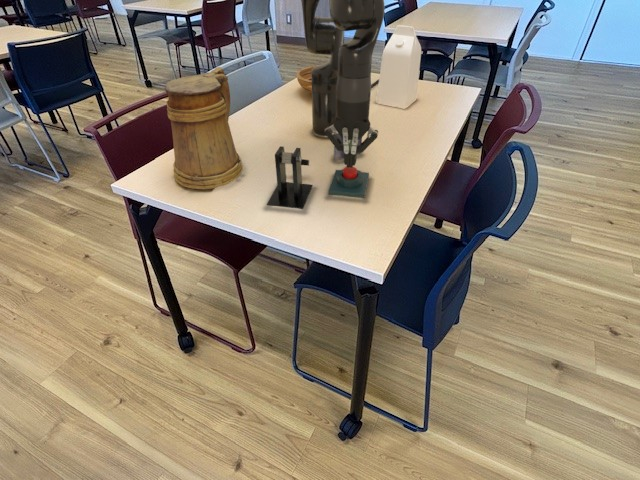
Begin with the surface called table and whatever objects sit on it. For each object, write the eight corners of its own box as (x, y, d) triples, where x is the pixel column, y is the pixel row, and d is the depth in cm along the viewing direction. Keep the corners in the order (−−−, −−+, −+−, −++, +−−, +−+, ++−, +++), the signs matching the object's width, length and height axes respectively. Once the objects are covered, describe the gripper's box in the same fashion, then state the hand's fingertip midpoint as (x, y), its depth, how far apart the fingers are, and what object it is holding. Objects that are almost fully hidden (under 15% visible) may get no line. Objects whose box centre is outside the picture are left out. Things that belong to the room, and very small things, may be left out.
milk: (416, 99, 149) (427, 25, 133) (404, 109, 142) (415, 31, 125) (388, 94, 154) (396, 21, 138) (375, 103, 147) (382, 27, 130)
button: (344, 171, 98) (344, 165, 97) (357, 173, 97) (358, 167, 96) (341, 178, 95) (342, 172, 94) (356, 180, 95) (356, 174, 94)
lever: (287, 165, 99) (288, 156, 99) (308, 167, 98) (309, 158, 98) (274, 161, 87) (275, 151, 87) (298, 164, 86) (299, 153, 86)
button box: (335, 176, 103) (336, 162, 101) (368, 179, 102) (369, 165, 99) (328, 197, 95) (328, 183, 93) (364, 201, 94) (365, 187, 91)
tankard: (161, 184, 100) (131, 88, 85) (210, 147, 118) (192, 61, 102) (220, 197, 96) (200, 97, 80) (262, 156, 113) (252, 67, 97)
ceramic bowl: (343, 109, 141) (344, 87, 136) (284, 102, 148) (283, 80, 143) (364, 85, 163) (365, 65, 158) (312, 80, 169) (311, 60, 164)
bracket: (279, 185, 100) (275, 139, 92) (313, 188, 99) (312, 142, 90) (267, 208, 92) (261, 160, 84) (303, 212, 90) (301, 164, 82)
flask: (336, 163, 109) (337, 127, 102) (331, 159, 111) (331, 124, 104) (362, 155, 113) (365, 120, 106) (357, 152, 114) (359, 117, 108)
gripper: (384, 91, 85) (377, 161, 96) (327, 88, 87) (326, 156, 98) (382, 103, 80) (375, 176, 90) (320, 99, 82) (320, 170, 93)
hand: (349, 165), depth 94 cm, fingers closed
